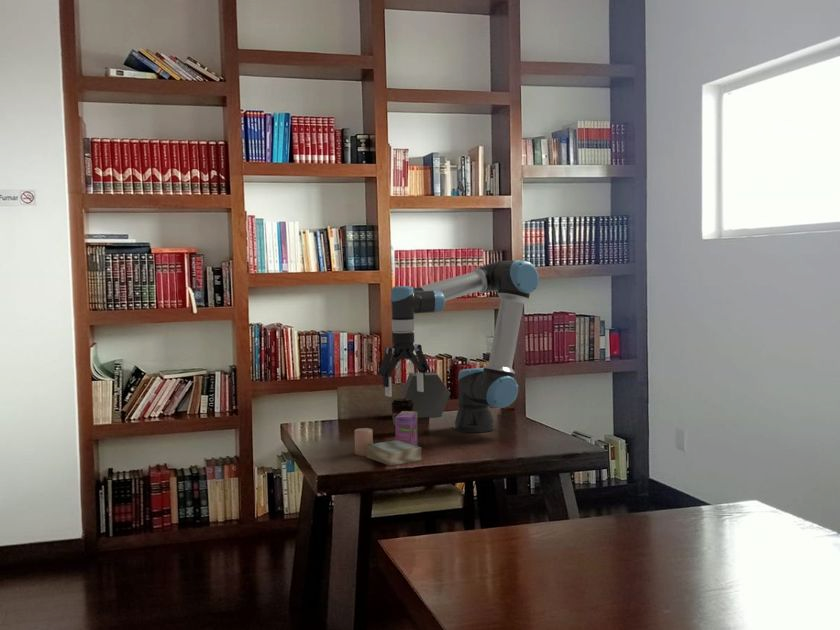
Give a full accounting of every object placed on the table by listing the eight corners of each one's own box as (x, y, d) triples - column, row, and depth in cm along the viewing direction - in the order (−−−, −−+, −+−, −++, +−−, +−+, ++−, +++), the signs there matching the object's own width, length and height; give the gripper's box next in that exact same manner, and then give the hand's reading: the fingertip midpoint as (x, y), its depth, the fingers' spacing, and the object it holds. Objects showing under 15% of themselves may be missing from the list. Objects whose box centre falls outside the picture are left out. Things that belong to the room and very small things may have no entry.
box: (411, 451, 277) (411, 416, 277) (395, 451, 279) (394, 416, 278) (418, 444, 288) (417, 411, 287) (402, 444, 289) (401, 410, 288)
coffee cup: (412, 436, 301) (411, 401, 300) (389, 435, 303) (389, 400, 302) (415, 431, 310) (415, 397, 309) (394, 430, 311) (393, 396, 310)
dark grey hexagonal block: (453, 401, 347) (426, 361, 343) (457, 404, 339) (430, 363, 336) (420, 425, 344) (393, 385, 341) (424, 428, 337) (396, 388, 333)
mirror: (397, 451, 277) (397, 439, 277) (421, 459, 266) (421, 446, 266) (366, 457, 270) (366, 444, 270) (390, 465, 259) (390, 452, 259)
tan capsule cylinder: (366, 450, 280) (366, 427, 279) (376, 453, 275) (376, 430, 274) (351, 453, 276) (351, 429, 276) (361, 456, 271) (360, 432, 271)
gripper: (425, 328, 290) (426, 388, 292) (366, 334, 275) (368, 397, 276) (438, 329, 284) (439, 390, 286) (379, 335, 269) (381, 399, 270)
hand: (404, 394), depth 281 cm, fingers open, 13 cm apart
